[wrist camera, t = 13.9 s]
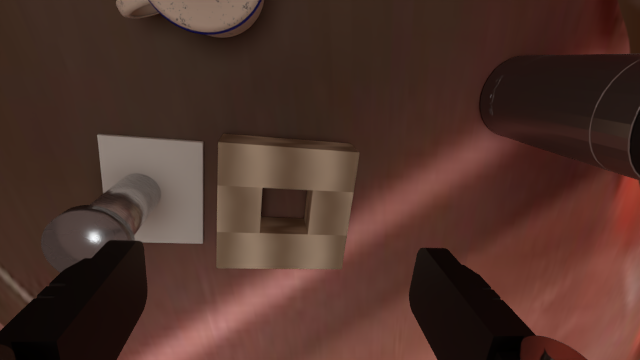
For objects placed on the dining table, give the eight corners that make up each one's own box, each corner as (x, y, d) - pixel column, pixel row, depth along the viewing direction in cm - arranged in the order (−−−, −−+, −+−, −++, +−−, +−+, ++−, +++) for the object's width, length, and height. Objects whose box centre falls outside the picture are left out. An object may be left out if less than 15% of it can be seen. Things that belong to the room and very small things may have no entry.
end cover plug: (167, 167, 35) (126, 213, 25) (169, 219, 37) (132, 281, 27) (105, 164, 34) (35, 210, 24) (110, 217, 36) (47, 281, 26)
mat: (203, 141, 36) (202, 142, 35) (203, 241, 39) (202, 243, 39) (100, 133, 34) (97, 134, 33) (110, 238, 38) (108, 241, 37)
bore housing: (350, 143, 38) (359, 152, 34) (335, 250, 43) (341, 269, 39) (223, 133, 36) (218, 142, 32) (221, 248, 40) (216, 268, 36)
